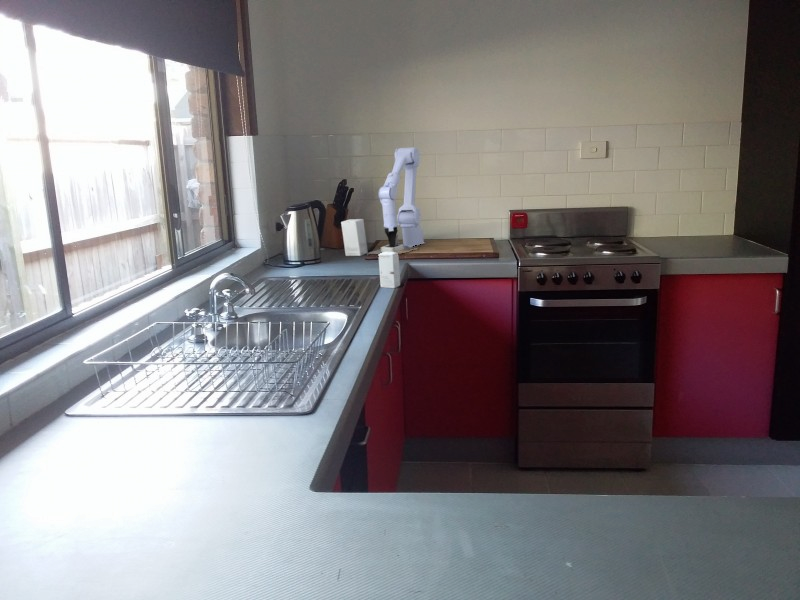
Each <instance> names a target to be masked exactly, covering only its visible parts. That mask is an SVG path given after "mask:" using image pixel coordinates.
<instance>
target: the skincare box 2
mask: <svg viewBox="0 0 800 600" xmlns="http://www.w3.org/2000/svg"><path fill="white" fill-rule="evenodd" d="M378 256H379V257H378V268H379V280H380V281H379V282H380V283H379V284H380V288H386V289H387V288H388V289H396V288H398V287H400V286H401V277H400V276H401V275H400V259H399V258H400V257H399V256H400V255H398V252H382V253H380V254H378Z"/></svg>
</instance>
